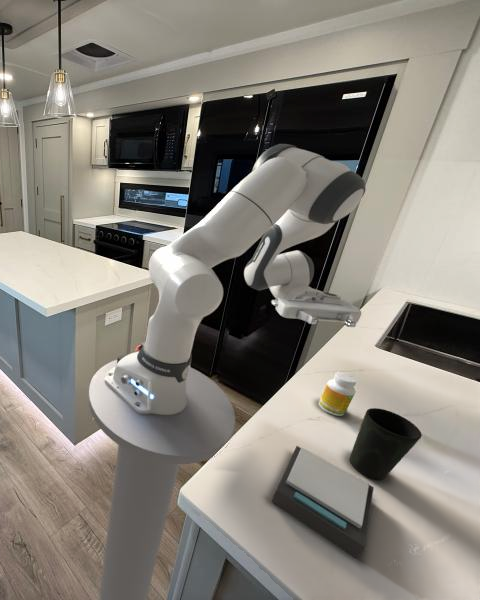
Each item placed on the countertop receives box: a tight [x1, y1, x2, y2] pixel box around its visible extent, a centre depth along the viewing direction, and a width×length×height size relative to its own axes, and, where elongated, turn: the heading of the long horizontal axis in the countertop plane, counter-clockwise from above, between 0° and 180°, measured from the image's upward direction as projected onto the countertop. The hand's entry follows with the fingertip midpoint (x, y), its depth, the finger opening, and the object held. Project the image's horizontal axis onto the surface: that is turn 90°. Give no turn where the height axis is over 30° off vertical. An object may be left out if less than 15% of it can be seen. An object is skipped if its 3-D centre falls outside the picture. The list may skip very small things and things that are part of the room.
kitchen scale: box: [270, 445, 374, 559], centre depth 55 cm, size 12×14×4 cm
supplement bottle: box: [318, 371, 357, 417], centre depth 76 cm, size 5×5×10 cm
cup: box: [348, 407, 423, 481], centre depth 60 cm, size 8×8×12 cm
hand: (333, 323), depth 81 cm, fingers open, 8 cm apart
